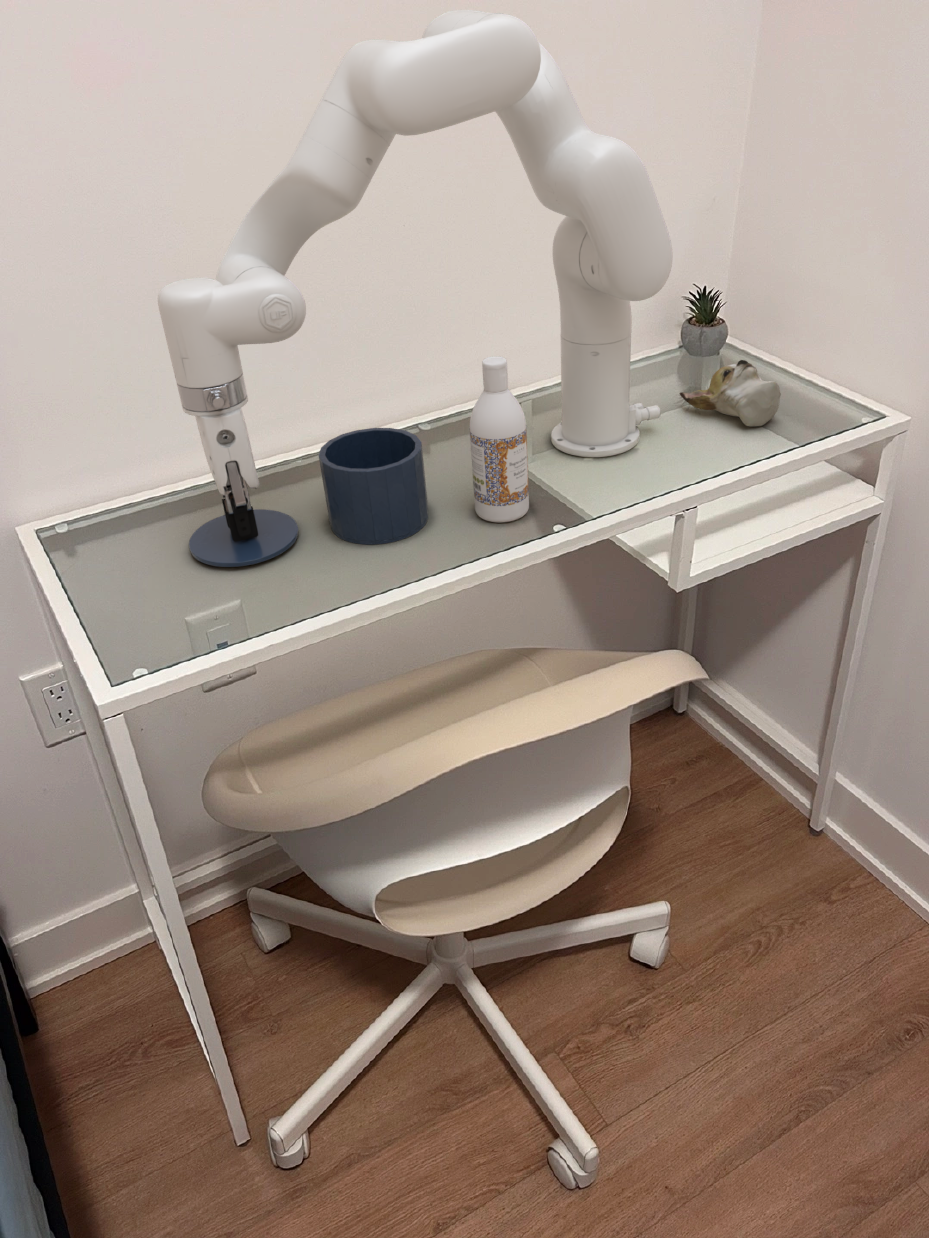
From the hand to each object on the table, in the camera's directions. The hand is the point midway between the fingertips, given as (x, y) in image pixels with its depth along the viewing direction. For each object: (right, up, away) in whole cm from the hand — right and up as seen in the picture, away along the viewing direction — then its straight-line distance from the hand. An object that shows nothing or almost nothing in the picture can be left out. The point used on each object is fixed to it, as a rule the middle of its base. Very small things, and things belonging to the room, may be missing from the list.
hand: (243, 530), depth 126 cm
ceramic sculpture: (+68, +19, +23) cm, 74 cm away
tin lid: (0, -1, +1) cm, 1 cm away
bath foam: (+33, +3, +3) cm, 33 cm away
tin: (+17, +2, +4) cm, 17 cm away
